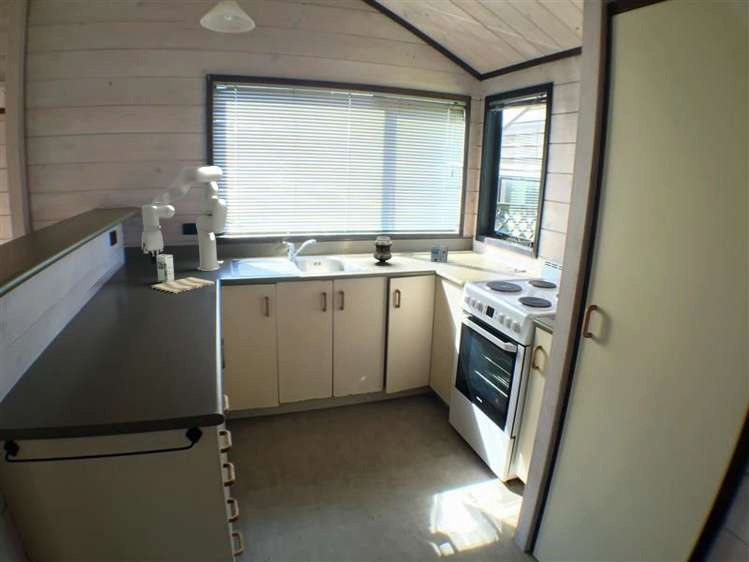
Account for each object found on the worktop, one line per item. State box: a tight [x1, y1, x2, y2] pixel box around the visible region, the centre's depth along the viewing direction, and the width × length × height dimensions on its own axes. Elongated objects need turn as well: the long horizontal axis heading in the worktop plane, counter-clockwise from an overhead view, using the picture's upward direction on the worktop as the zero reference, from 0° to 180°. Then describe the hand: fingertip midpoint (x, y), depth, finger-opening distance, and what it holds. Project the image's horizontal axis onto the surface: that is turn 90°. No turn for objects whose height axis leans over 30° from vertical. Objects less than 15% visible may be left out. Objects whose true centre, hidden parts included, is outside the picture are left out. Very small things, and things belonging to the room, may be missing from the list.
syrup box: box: [156, 254, 175, 284], centre depth 248 cm, size 6×6×14 cm
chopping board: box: [150, 276, 215, 294], centre depth 243 cm, size 24×18×1 cm
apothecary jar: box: [373, 235, 393, 267], centre depth 309 cm, size 12×12×18 cm
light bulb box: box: [430, 244, 449, 264], centre depth 325 cm, size 11×7×11 cm, turn 73°
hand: (154, 263), depth 252 cm, fingers closed
